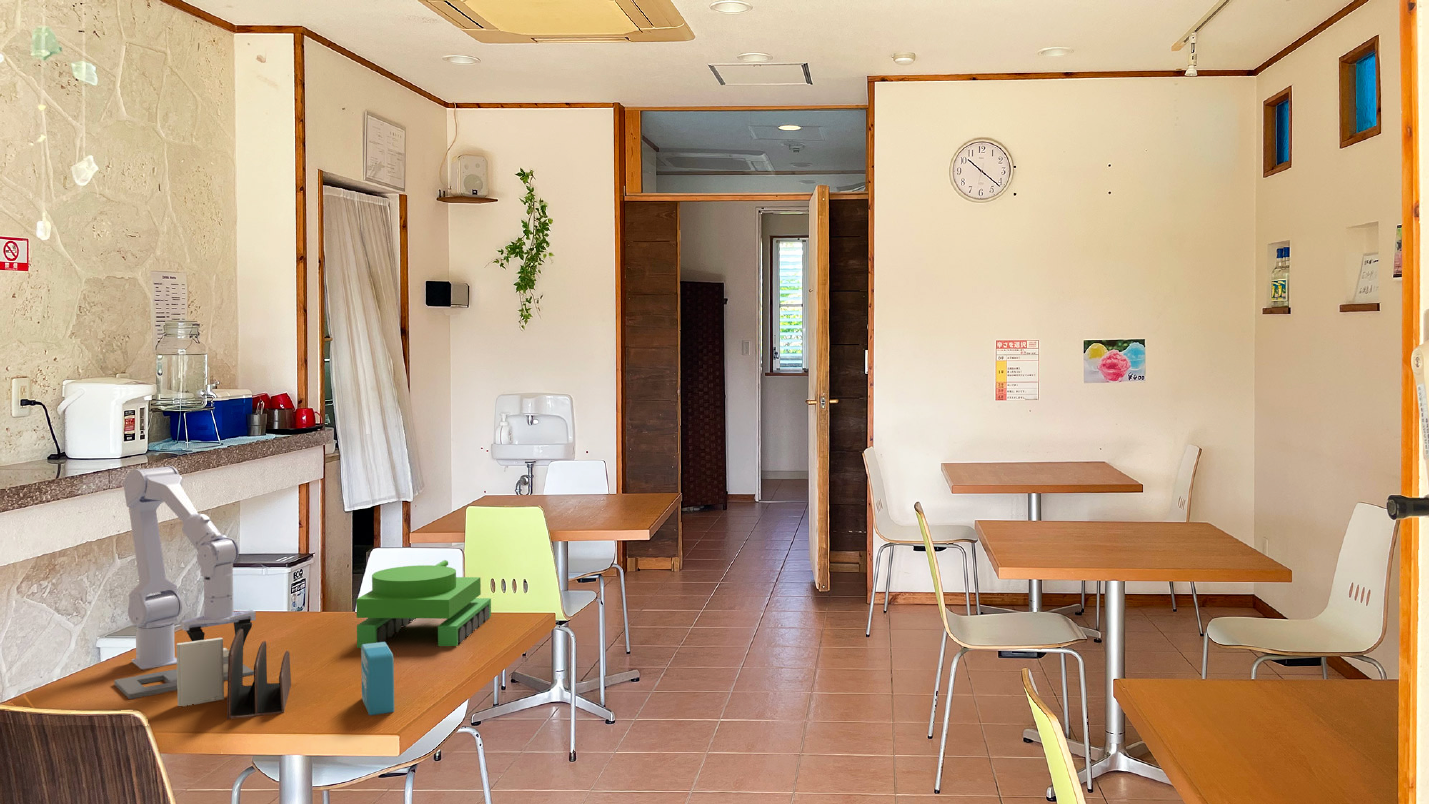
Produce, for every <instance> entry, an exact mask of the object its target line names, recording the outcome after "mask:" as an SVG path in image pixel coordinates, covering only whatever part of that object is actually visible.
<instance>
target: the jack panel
mask: <svg viewBox="0 0 1429 804" xmlns="http://www.w3.org/2000/svg"><path fill="white" fill-rule="evenodd" d="M247 676H254V669H251V668H250V667H249V666H247V665H245V664H244V663H243V677H247ZM113 681H114V682H113V683H114V684H113V686H115V687H116V688H117V689H118V690H119V691H120V692H121V693H122V694H123V695H124V696H125V697H126V696H127V697H126V698H128V700H133V699H138V697H139V698H143V697H142V696H144V697H149V696H155V695H157V694H158V695H159V694H162V693H169V692H174V691H177V668H176V669H170V670H169V669H168V670H164V671H160V672H159V671H157V672H153V673H146V674H140V675H136V676H130V677H124V678H118V679H114V680H113ZM159 681H164V682H165V683H160V684H155V685H150V686H144V684H148V683H155V682H159ZM224 681H228V672H225V673H224ZM168 691H169V692H168Z"/></svg>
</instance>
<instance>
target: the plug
mask: <svg viewBox="0 0 1429 804" xmlns="http://www.w3.org/2000/svg"><path fill="white" fill-rule="evenodd" d="M229 650H230V649H227V647H223V668H224V673H225V672H228V654H229Z"/></svg>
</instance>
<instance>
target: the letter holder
mask: <svg viewBox="0 0 1429 804" xmlns="http://www.w3.org/2000/svg"><path fill="white" fill-rule="evenodd" d="M243 633H244V632H243V629H240V630H238V632H237V633H236V635H235V634H234V637H233V640H232V643H231V645H230V647H229V649H228V650H229V654H228V680H227V697H226V701H227V702H226V703H227V709H226V710H227V715H226V719H227V720H234V719H243V718H251V717H252V718H253V717H260V716H270V715H277V714H284V713H285V710H286V707H287V706H286V705H287V702H288V697H289V695H290V690H291V686H292V677H291V675H292V674H291V662H290V661H291V658H290V657H291V656H290V655H291V654H290V652H289V651H290V650H286V651H285V652H284V654H283V657H282V661H281V665H280V671H279V675H278V682H274V683H272V682H270V683H269V682H268V671H267V670H268V667H267V641H266V640H263V641H262V642H261V643H260V646H259V648H258V649H257V653H256V657H255V661H254V665H253V671H254V675H253V682H252V683H251V685H250V684H249V685H244V684H243V681H244V679H243V664H244V646H243Z"/></svg>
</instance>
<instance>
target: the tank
mask: <svg viewBox="0 0 1429 804" xmlns="http://www.w3.org/2000/svg"><path fill="white" fill-rule="evenodd" d="M481 586H482V585H481V577H479V576H476V577H475V576H473V577H472V576H470V577H469V576H466V577H465V576H457V570H456V569H455V568H453V567H450V566H449V561H448V560H446V559H444V560H442V561H441V562H439V563H436V564H435V565H432V564H431V565H429V564H427V565H425V564H423V565H419V564H418V565H407V566H397V567H390V568H386V569H381V570H378V571H376V572H374V573H373V574H371V591H368V592H367V593H365V594H363V595H361V596H360V597H358V598H356V599H355V600H356V601H355V602H356V603H355V604H356V618H357V619H365V620H363V621H362V622H360V623H358V624H357V625H356V648H357V649H358V648H359V649H361V646H362V644H370V643H379V642H386V639H390V638H391V637H393V636H394V632H397V631H398V632H400V631H401V630H400V629H402V627H401V626H406V625H407V624H408V625H409V623H410V622H409V621H413V620H414V619H415V620H416V618H417V619H433V620H435V619H443V620H444V621H442V622H441V623H440V624H438V625H437V646H457V645H458V646H459V644H458V643H461V642H462V641H463V640H464V639H465V640H466V638H465V637H467V636H469V635H470V634H471V635H472V633H473V632H472V631H474V630H475V629H477V630H478V628H479V627H478V626H480V627H481V626H482V625H484V622H483V621H486V622H487V621H488V620H489V619H490V618H491V617H492V598H490V597H488V598H485V597H482V598H481V597H479V596H481V593H482V592H481V591H482V590H481V589H482V588H481ZM478 597H479V598H478ZM490 616H491V617H490ZM487 619H488V620H487ZM415 620H414V621H415ZM414 621H413V622H414ZM481 624H482V625H481ZM408 625H407V626H408ZM407 626H406V627H407ZM399 630H400V631H399ZM475 631H476V630H475ZM475 631H474V632H475ZM398 632H397V633H398ZM392 635H393V636H392ZM471 635H470V636H471ZM390 636H391V637H390ZM470 636H469V637H470ZM389 637H390V638H389ZM465 640H464V641H465ZM464 641H463V642H464ZM463 642H462V643H463ZM462 643H461V644H462ZM458 646H457V647H458Z"/></svg>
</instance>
